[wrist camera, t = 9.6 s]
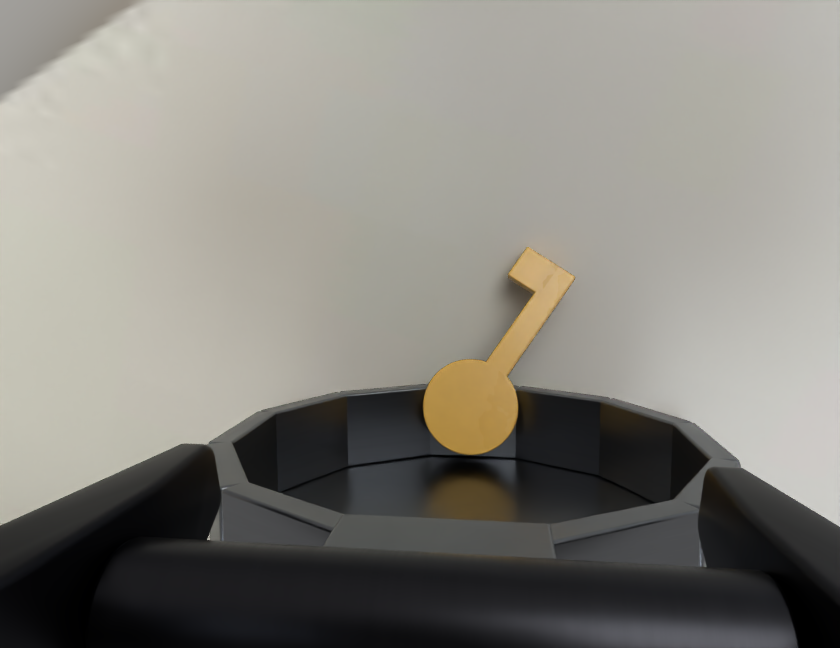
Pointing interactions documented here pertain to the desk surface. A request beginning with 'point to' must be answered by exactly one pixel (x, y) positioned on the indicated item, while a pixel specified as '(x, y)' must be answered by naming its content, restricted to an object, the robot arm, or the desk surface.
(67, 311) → the desk surface
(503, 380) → the key
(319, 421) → the dish
